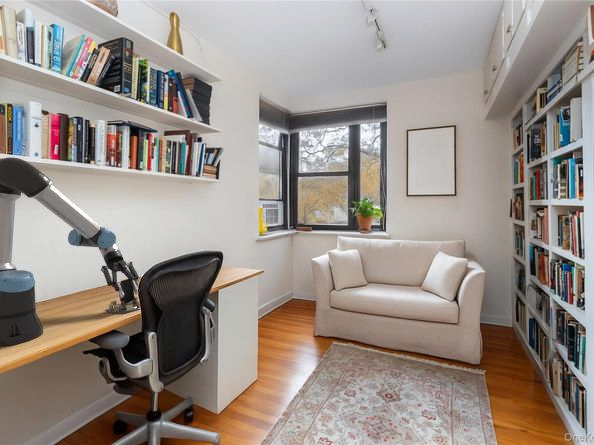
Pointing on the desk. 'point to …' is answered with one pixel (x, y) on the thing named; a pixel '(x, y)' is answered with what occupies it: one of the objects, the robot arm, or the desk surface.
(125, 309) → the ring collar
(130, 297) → the speaker
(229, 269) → the desk surface
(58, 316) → the desk surface
